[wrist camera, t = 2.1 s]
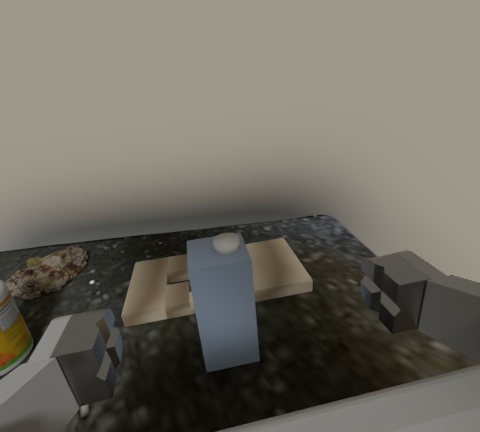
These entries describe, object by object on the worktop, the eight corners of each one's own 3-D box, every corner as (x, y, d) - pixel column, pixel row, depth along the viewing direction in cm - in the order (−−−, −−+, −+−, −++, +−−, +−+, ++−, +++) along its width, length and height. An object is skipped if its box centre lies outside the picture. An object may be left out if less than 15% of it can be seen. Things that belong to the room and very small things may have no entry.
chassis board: (124, 327, 30) (121, 315, 29) (138, 272, 39) (135, 262, 38) (312, 291, 32) (312, 279, 32) (283, 247, 41) (283, 238, 41)
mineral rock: (26, 295, 33) (-18, 266, 35) (32, 322, 35) (-9, 293, 37) (105, 251, 42) (65, 230, 44) (106, 274, 44) (68, 253, 46)
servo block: (206, 372, 24) (185, 261, 20) (203, 332, 28) (185, 232, 24) (259, 360, 25) (250, 250, 20) (248, 323, 29) (239, 223, 25)
